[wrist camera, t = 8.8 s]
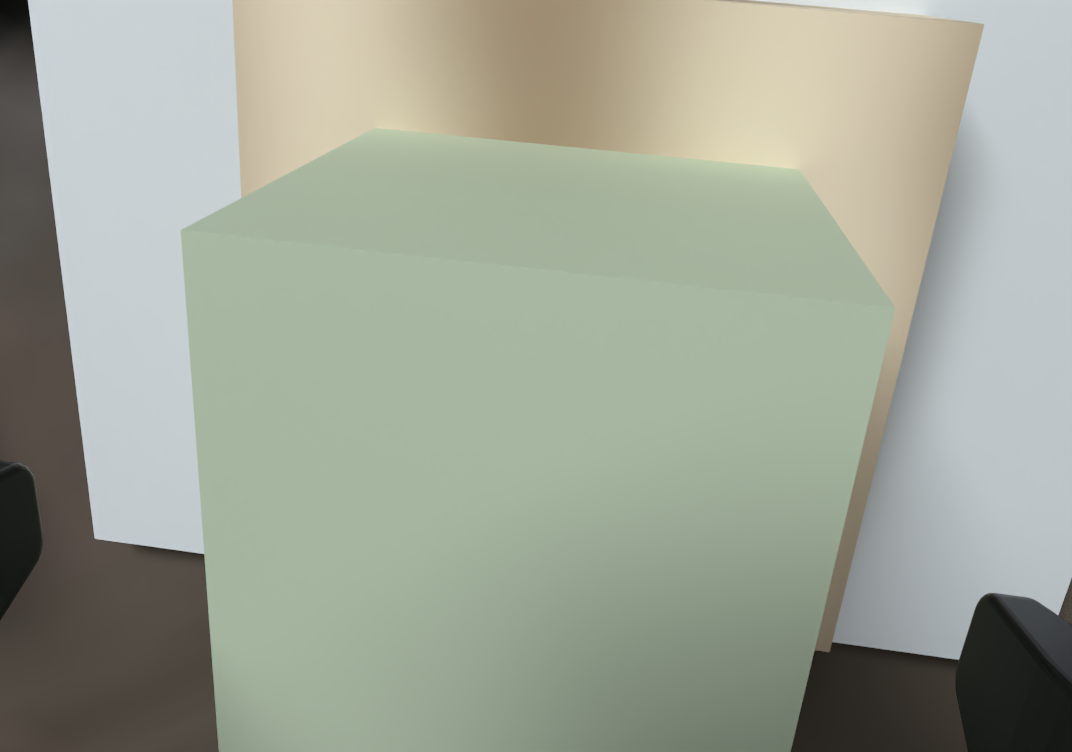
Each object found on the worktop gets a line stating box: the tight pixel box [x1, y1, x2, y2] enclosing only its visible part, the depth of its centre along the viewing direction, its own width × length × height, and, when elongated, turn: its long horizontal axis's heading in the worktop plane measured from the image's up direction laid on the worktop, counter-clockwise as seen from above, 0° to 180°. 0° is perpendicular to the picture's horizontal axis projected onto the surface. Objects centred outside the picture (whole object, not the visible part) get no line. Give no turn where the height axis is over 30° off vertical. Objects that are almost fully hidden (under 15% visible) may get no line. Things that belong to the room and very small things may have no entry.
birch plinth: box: [232, 0, 984, 652], centre depth 16 cm, size 10×10×3 cm
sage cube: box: [181, 128, 895, 752], centre depth 12 cm, size 6×6×6 cm
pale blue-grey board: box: [28, 0, 1072, 660], centre depth 18 cm, size 20×14×1 cm
